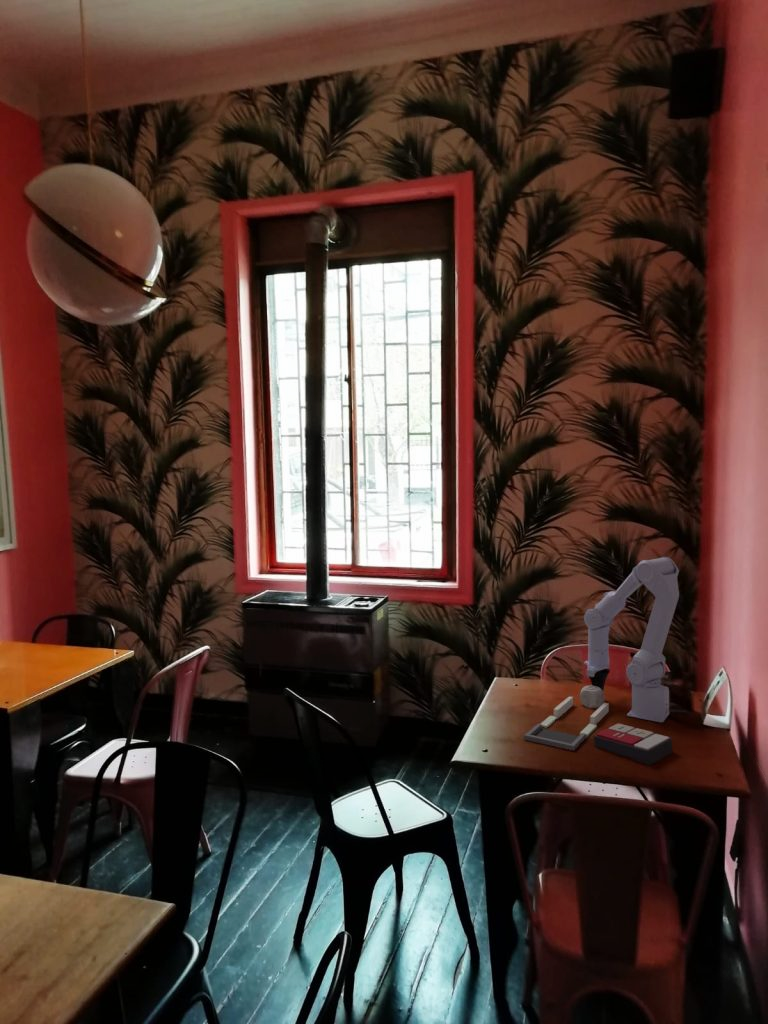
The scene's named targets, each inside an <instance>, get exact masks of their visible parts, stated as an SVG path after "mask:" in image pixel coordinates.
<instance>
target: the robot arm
mask: <svg viewBox="0 0 768 1024" xmlns="http://www.w3.org/2000/svg"><path fill="white" fill-rule="evenodd" d="M679 572H680V569H679V568H678V566H677V565H676V563H675V562H674V560H673V559H671V558H670V557H667V556H662V557H658V558H654V559H649V560H648V559H646V560H645V559H643V560H641V561H639V563H638V564H637V565H636V566H635V567H633V568H632V571H631V573H629V575H628V576H627V577H626V578H625V580H623V582H622V583H621V584H620V586H619V587H618V588H617V589H616V590H614V591H613V590H611V591H606V592H605V593H604V594H603V598H602V599H601V600H600V601H599V602H598V603H597V602H596V603H595V604H594V608H590V609H589V608H588V609H587V610H586V612H585V613H584V615H583V621H584V624H585V626H586V627H587V629H588V630H587V631H588V632H587V634H588V635H587V639H588V640H587V645H588V646H587V649H588V650H587V652H588V653H587V656H588V657H587V660H585V661H584V662H583V664H584V665H586V666H587V669H586V676H587V677H588V678H589V680H590V683H591V686H597V687H600V688H601V689H602V691H603V692H604V688H605V685H606V681H607V678H608V676H609V674H610V672H611V671H610V669H609V668H610V657H609V650H610V649H609V635H610V634H609V633H610V628H611V625H612V624H613V623H614V618H615V617H616V616H617V615H618V614H619V613H620V612H621V611H622V610H623V609H624V608H625V607H626V603H627V602H626V599H627V598H629V597H630V596H631V595H632V594H633V593H634V592H635V591H637V589H639V588H640V587H641V586H642V585H644V586H645V588H646V589H648V591H649V592H650V593H651V594H653V595H654V596H653V597H655V598H654V602H653V605H652V609H651V612H650V615H649V619H648V622H647V623H648V624H647V626H646V629H645V633H644V636H643V640H642V644H641V646H640V648H639V650H638V651H637V652H636V653H635V654H634V656H633V658H632V660H631V662H630V663H629V664H628V665H627V666H626V669H625V670H626V671H625V673H626V677H627V678H628V680H629V682H630V684H631V709H630V710H629V712H627V714H626V716H627V717H630V718H631V717H632V718H637V719H640V720H641V719H642V720H645V721H646V720H647V721H652V722H657V723H664V722H665V720H666V719H667V718H668V716H669V715H670V689H669V687H668V686H666V685H665V686H664V685H663V684H661V679H662V678H663V677H664V676H665V673H666V666H665V663H666V660H667V659H666V657H665V655H664V654H663V650H664V647H665V643H666V641H667V637H668V634H669V630H670V627H671V624H672V622H673V618H674V615H675V611H676V608H677V604H678V601H679V597H680V590H679V583H678V577H679Z"/></svg>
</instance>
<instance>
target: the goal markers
mask: <svg viewBox="0 0 768 1024" xmlns="http://www.w3.org/2000/svg"><path fill="white" fill-rule="evenodd" d="M556 719H557V720H558V718H557V717H555V716H554V715H549V716H548V717H547V718H546V719H544V720H543V721H542V722H541V723H540V724H542V728H543V727H544V728H543V729H548V728H549V727H550V726H551V725H552V724H554V722H556V721H557V720H556ZM555 720H556V721H555ZM547 727H548V728H547ZM597 728H598V725H597V724H596V725H594V724H590V723H588V724H587V725H586V726H585V727H584V728H583V729H582V730H581V731H580V732H579V736H580V735H581V734H582V733H585V734H586V738H588V737H589V736H590V735H591V734H592V733H593V732H594V731H595V730H596V729H597Z"/></svg>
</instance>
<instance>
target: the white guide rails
mask: <svg viewBox="0 0 768 1024" xmlns="http://www.w3.org/2000/svg"><path fill="white" fill-rule="evenodd" d="M609 705H610V704H609V702H608V703H607V702H603V704H602V705H601V706H600V707H598V708H596V710H595V711H594V712H593V713H592V714H591V715H590V716H589V724H594V725H597V724H598V723H599V722H600V721H601V720H602V719H603V718H604V717H605V716H606V715H607V714H608V713H609V710H610V709H609V708H610V707H609ZM573 706H574V696H568V697H566V698H565V699H564V700H563V701H562V702H561V703H559V704H558V705H557V706H555V707H554V708H553V716H555V717H557V719H559V718H560V717H562V716H563V715H564V714H565V713H566V712H567V711H568V710H570V709H571V708H572V707H573ZM563 713H564V714H563Z"/></svg>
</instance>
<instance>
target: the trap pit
mask: <svg viewBox="0 0 768 1024" xmlns="http://www.w3.org/2000/svg"><path fill="white" fill-rule="evenodd" d="M523 737H524V738H523V739H524V741H529V742H534V743H538V744H542V745H545V746H551V747H554V746H555V748H559V749H563V748H564V749H565V750H568V749H569V750H568V751H572V750H573V752H574V751H575V750H576V749H577V748H578V747H579V746H580V745H581V744H582V743H583V742H584V741H585V740H586V739H587V737H586V734H585V733H582V734H581V735H580V734H579V735H575V734H570V733H564V732H560V731H556V730H552V729H548V728H543V727H542V724H541V723H537V724H536V725H534V726H533V727H532V728H530V730H529V731H527V732H526V733H525V734H524V735H523ZM584 739H585V740H584ZM581 742H582V743H581ZM580 743H581V744H580ZM579 744H580V745H579Z"/></svg>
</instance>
